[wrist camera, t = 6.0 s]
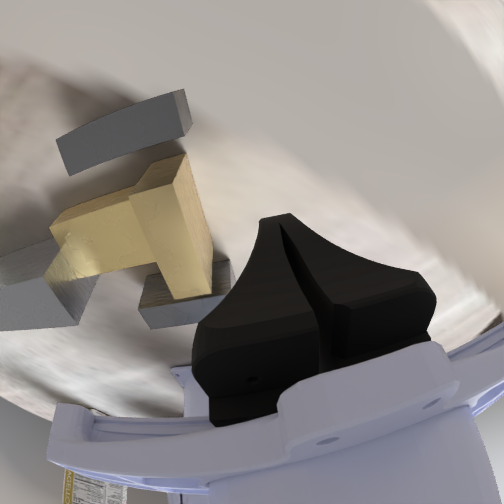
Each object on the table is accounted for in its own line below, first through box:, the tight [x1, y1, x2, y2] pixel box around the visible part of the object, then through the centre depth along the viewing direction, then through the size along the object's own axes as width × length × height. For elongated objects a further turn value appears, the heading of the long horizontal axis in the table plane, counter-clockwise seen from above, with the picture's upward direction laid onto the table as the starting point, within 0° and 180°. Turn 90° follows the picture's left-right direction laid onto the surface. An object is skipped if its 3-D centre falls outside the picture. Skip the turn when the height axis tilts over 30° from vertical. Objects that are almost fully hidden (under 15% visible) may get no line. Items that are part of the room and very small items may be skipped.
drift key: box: [49, 153, 213, 300], centre depth 14 cm, size 6×9×4 cm, turn 100°
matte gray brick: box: [0, 237, 99, 331], centre depth 15 cm, size 4×10×5 cm, turn 100°
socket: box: [56, 89, 236, 329], centre depth 15 cm, size 13×6×3 cm, turn 10°
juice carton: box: [62, 409, 127, 504], centre depth 26 cm, size 9×8×24 cm
